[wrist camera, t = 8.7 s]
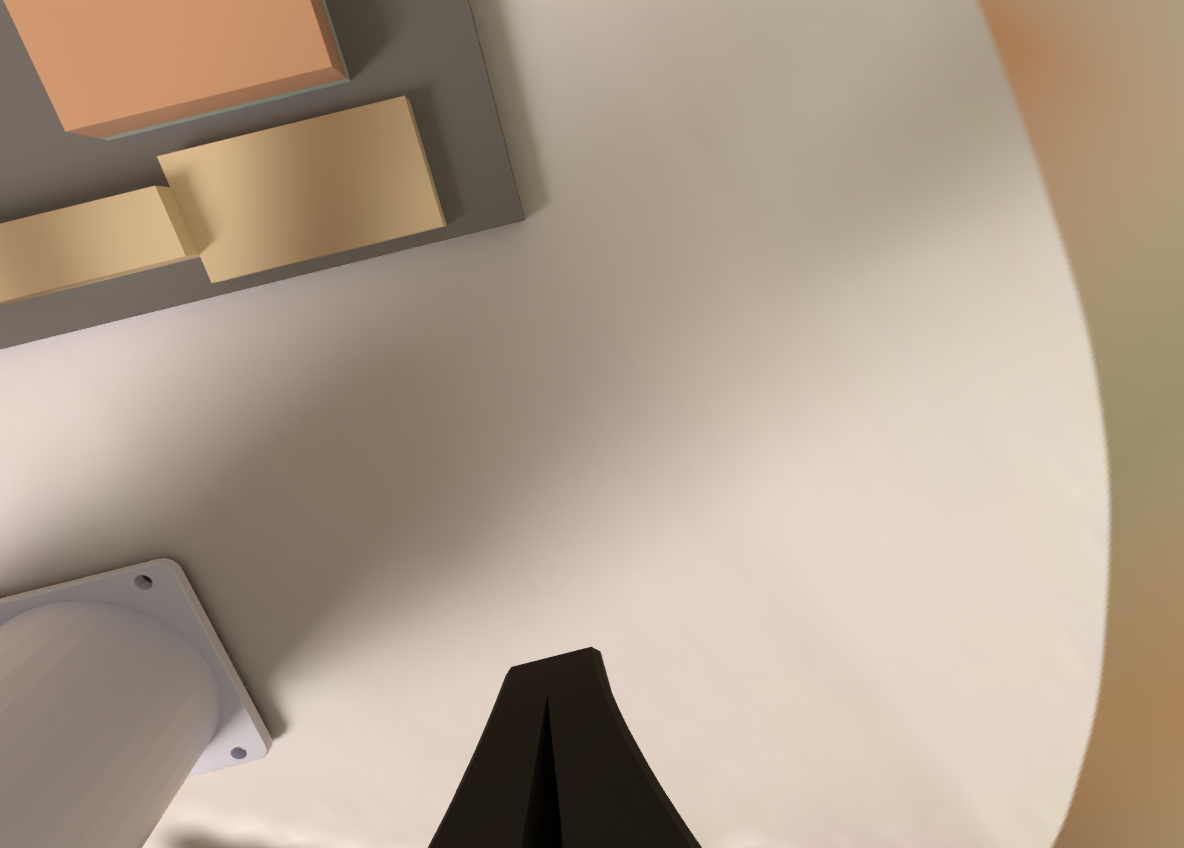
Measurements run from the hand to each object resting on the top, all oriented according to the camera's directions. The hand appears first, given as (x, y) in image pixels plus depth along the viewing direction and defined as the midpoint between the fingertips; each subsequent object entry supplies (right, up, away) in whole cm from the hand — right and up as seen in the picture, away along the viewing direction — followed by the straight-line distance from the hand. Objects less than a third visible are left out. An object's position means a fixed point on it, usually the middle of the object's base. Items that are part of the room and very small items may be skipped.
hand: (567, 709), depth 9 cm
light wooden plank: (-10, +9, +6) cm, 15 cm away
